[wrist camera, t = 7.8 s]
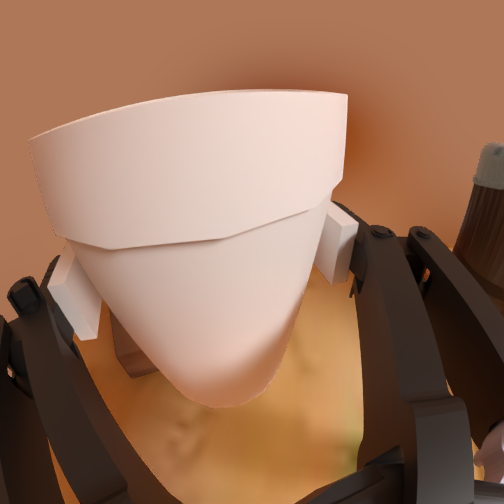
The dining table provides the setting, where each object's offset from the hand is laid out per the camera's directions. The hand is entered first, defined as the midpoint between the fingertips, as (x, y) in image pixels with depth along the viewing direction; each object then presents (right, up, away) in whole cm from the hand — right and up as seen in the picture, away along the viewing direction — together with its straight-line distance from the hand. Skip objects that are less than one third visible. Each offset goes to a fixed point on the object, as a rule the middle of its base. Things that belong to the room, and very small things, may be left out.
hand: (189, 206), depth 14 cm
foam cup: (+2, -9, +1) cm, 9 cm away
